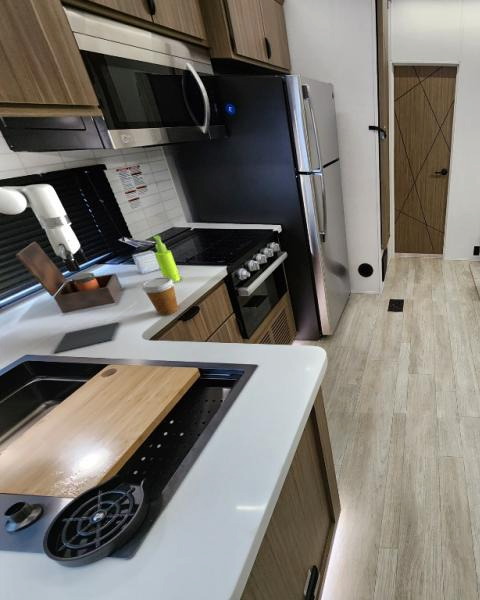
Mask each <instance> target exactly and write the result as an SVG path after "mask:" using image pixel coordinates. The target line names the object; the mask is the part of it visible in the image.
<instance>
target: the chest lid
mask: <svg viewBox="0 0 480 600" xmlns="http://www.w3.org/2000/svg"><path fill="white" fill-rule="evenodd" d="M15 257H16V258H17V259H18V260H19V261H20V262H21V264H22V265H23V266H24V267H25V268H26V269H27V270H28V271H29V273H30V274H31V275H32V276H33V277H34V278H35V280H36V281H37V282H38V283H39V284H40V285H41V286H42V287H43V288H44V290H45V291H46V292H47V293H48V294H49V296H50V297H54V296H55V295H56V294H57V293H58V291H59V290H60V289H61V288H62V286H63V285H64V284H65V283H66V281H68V279H67V278H66V276H64V274H63V273H62V272H61V270H60V269H59V268H58V266H57V265H56V264H55V263H54V262H53V261H52V259H51V258H50V257H49V256H48V255H47V253H46V252H45V251H44V250H43V249H42V247H41V246H40V245H39V244H38V242H36V241H33V242H31V243H30V244H28V246H26V247H24V248H23V249H22V250H20V251H19V252H18V253H16V254H15Z"/></svg>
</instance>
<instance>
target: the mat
mask: <svg viewBox="0 0 480 600" xmlns="http://www.w3.org/2000/svg"><path fill="white" fill-rule="evenodd" d="M118 325H119V322H118V321H116V322H112V323H107V324H102V325H98V326H94V327H93V326H92V327H89V328H84V329H78V330H74V331H70V332H66V333H65V334H64V336H63V337H62V339H61V341H60V342H59V343H58V345H57V347H56V349H55V350H54V354H58V353H62V352H67V351H71V350H76V349H80V348H84V347H89V346H92V345H98V344H101V343H106V342H110V341H113V338H114V336H115V333H116V330H117V327H118Z"/></svg>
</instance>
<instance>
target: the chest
mask: <svg viewBox="0 0 480 600" xmlns="http://www.w3.org/2000/svg"><path fill="white" fill-rule="evenodd" d="M95 277H96V280H97V282H98V284H99V286H100V289H94V290H88V291H83V292H78V290H77V288H76V286H75V284H74V283H73V281H72V280H67V281H66V282H65V283H64V284H63V285H62V287H61V288H60V289H59V290H58V292H57V293H56V294H55V295H54V296H53V299H54V300H55V302H56V304H57V306H58V308H59V309H60V311H61V313H63V314H65V313H70V312H75V311H80V310H86V309H91V308H96V307H101V306H106V305H112V304H116V302H117V299H118V298H119V296H120V293H121V291H122V289H123V288H122V287H123V286H122V284H121V282H120V280H119V278H118V275H117V273H115V272H114V273H109V274H102V275H96V276H95Z"/></svg>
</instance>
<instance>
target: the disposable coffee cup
mask: <svg viewBox="0 0 480 600" xmlns="http://www.w3.org/2000/svg"><path fill="white" fill-rule="evenodd" d="M174 285H175V282H174V281H172V280H171V278H169V277H163V276H160V277H155V278H151V279H149V280H146V281H144V282H143V283H142V288H141V289H142V291H143V292H144V293H145V294H146V295H147V297H148V299H149V300H150V302H151V304H152V306H153V308H154V309H155V310H156V312H157V314H158V315H160V316H168V315H171V314H174V313H177V311H178V310H179V306H178V302H177V296H176V291H175V286H174Z"/></svg>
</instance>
